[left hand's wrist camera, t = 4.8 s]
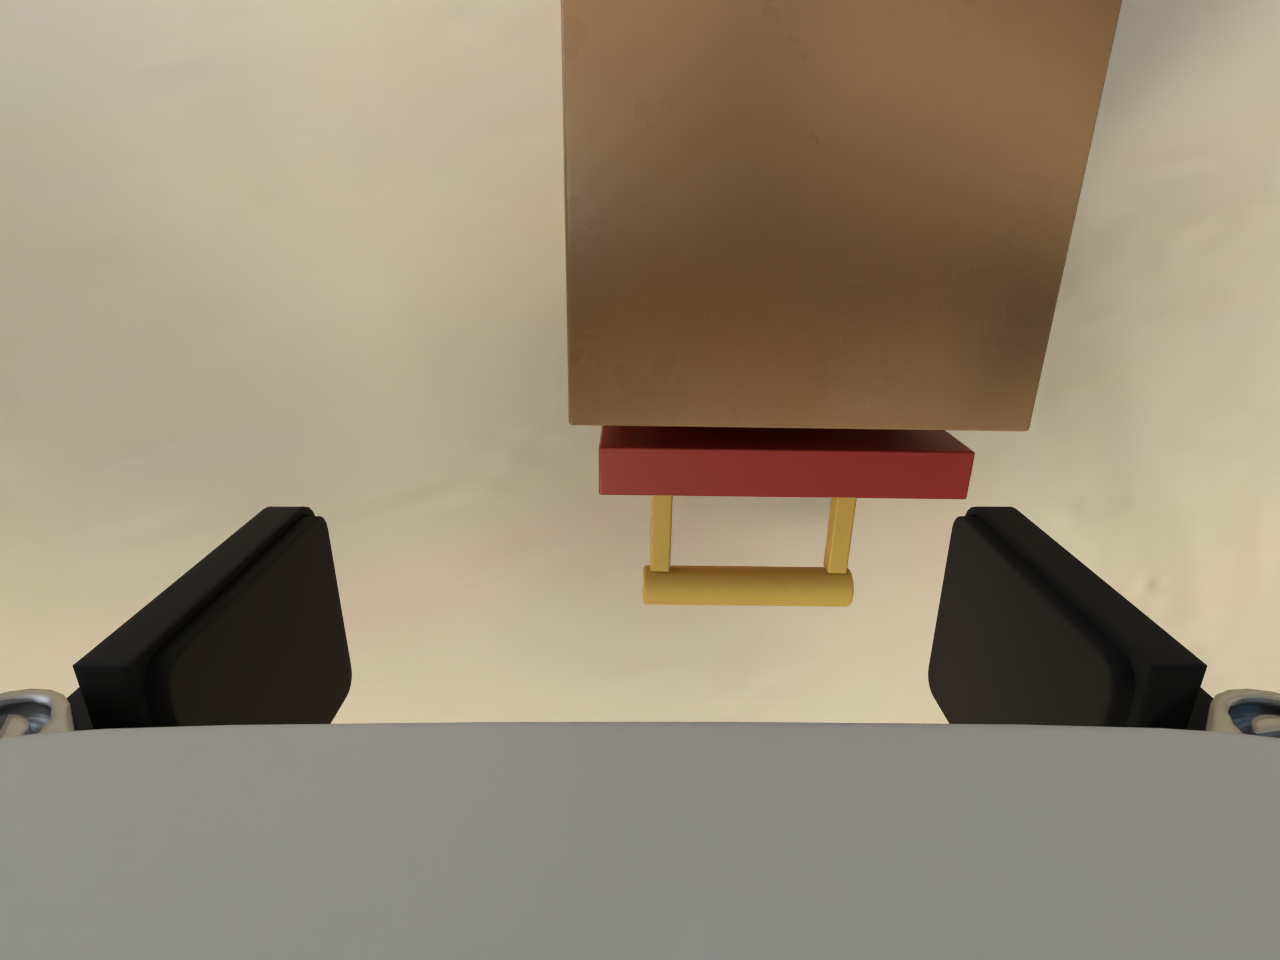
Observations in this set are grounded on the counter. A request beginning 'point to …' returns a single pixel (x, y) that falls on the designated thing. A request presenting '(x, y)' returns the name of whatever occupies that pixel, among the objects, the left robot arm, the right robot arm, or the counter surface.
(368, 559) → the counter surface
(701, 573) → the drawer
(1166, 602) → the counter surface
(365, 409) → the counter surface
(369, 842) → the left robot arm
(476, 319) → the counter surface
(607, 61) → the cabinet
